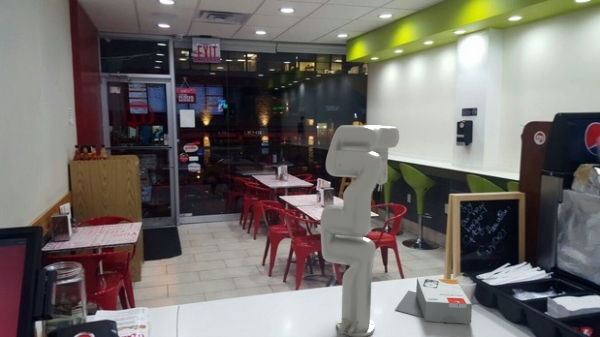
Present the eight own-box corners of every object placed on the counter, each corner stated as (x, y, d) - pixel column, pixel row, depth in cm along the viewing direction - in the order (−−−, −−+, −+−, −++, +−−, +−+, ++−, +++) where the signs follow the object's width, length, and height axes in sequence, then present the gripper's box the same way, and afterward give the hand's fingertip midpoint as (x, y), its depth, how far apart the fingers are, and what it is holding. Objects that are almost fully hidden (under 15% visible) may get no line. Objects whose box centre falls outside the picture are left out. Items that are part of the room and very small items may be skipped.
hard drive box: (457, 278, 156) (473, 303, 136) (456, 297, 157) (472, 324, 137) (416, 277, 157) (426, 301, 138) (415, 295, 159) (425, 322, 139)
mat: (446, 324, 138) (446, 323, 138) (394, 310, 147) (394, 309, 147) (455, 302, 154) (455, 301, 154) (408, 291, 162) (408, 290, 162)
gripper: (381, 159, 157) (379, 204, 160) (393, 155, 170) (391, 197, 173) (363, 157, 161) (361, 202, 164) (376, 153, 174) (374, 195, 177)
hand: (377, 199), depth 168 cm, fingers closed
